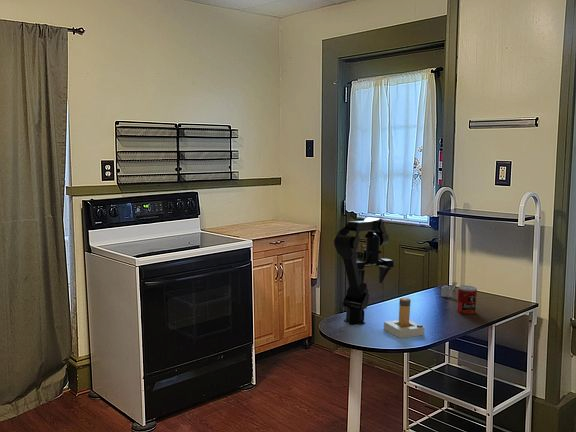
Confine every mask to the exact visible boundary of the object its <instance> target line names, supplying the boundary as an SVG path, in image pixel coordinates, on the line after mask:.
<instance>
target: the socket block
mask: <svg viewBox="0 0 576 432" xmlns="http://www.w3.org/2000/svg"><path fill="white" fill-rule="evenodd" d="M383 330H384V331H386V332H388V333H390V334H392V335H393V336H395V337H397V338H398V339H405V338H410V337H411V338H412V337H419V336H420V335H421V336H424V335H425V330H426V329H425V326H424V325H423V324H419V323H417V322H415V321H413V320H410V319H409V327H404V328H402V327H400V326H399V319H398V320H388V321H384V322H383Z"/></svg>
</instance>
